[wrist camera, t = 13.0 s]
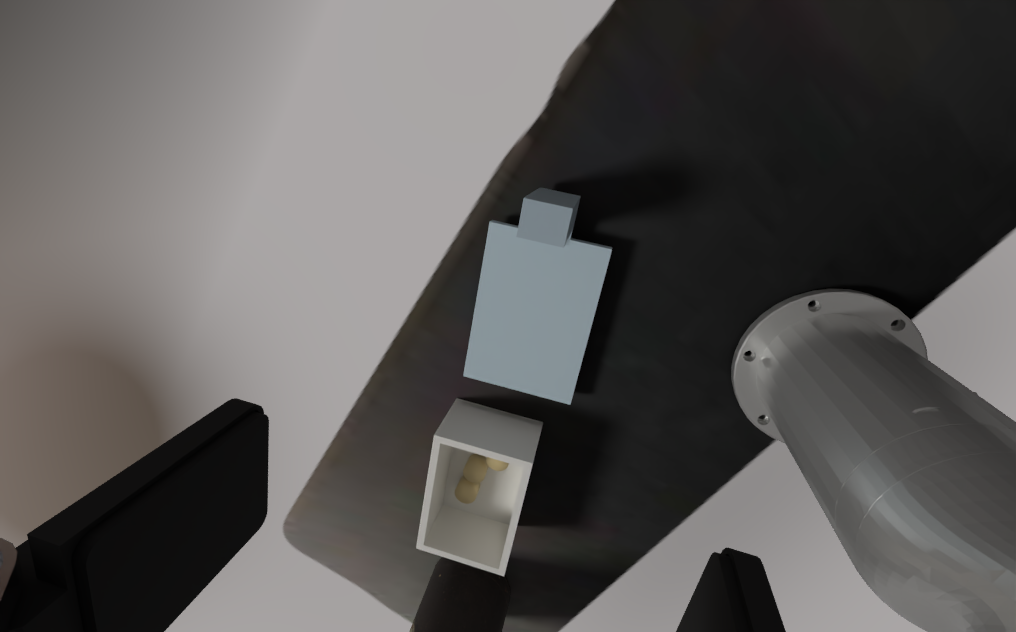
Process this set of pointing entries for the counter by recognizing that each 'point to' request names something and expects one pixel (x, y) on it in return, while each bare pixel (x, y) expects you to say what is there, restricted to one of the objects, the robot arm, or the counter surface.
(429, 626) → the container
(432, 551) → the tub
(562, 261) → the lid
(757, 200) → the counter surface
